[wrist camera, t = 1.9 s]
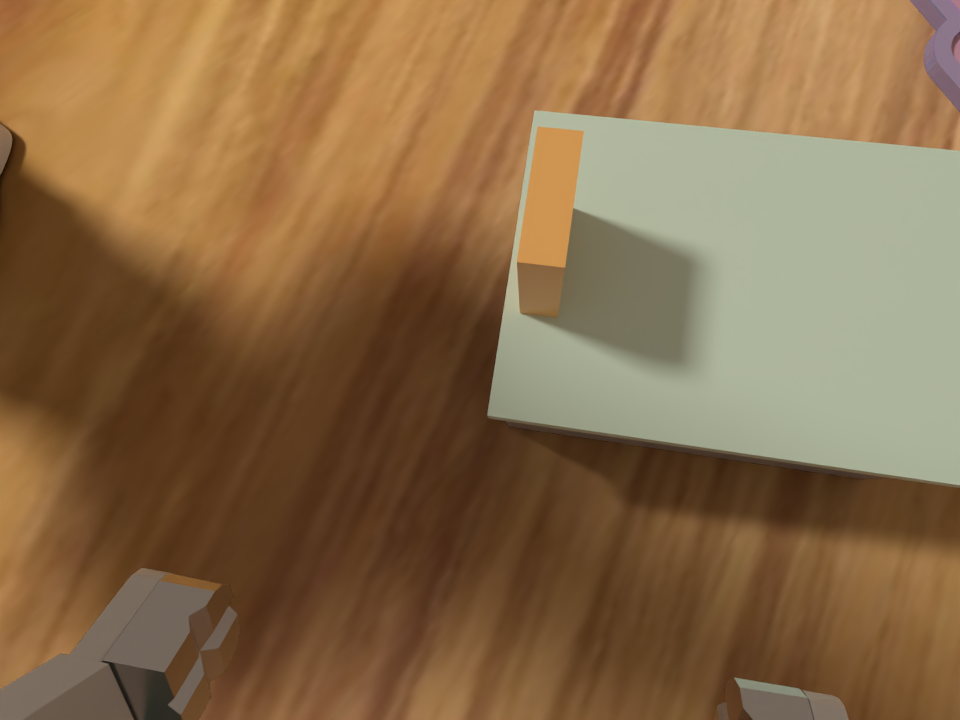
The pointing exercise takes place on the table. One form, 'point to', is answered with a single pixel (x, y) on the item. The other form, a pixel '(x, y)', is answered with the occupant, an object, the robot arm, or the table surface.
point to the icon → (943, 45)
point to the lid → (737, 295)
